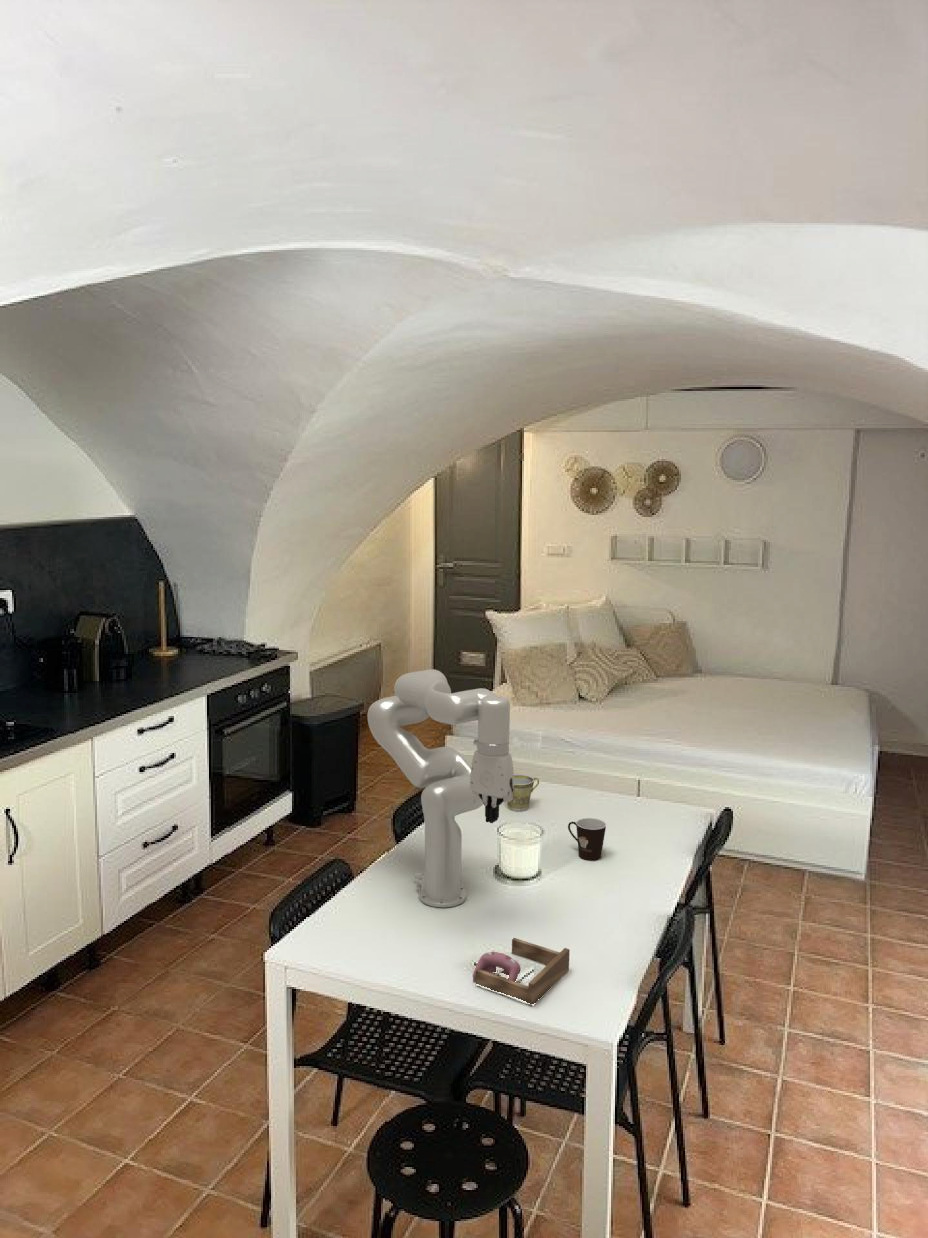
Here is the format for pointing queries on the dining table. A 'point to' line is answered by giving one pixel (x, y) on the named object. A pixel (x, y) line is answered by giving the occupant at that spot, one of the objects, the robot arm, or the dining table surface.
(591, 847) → the coffee mug
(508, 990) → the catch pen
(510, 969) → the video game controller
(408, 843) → the dining table surface
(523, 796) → the ceramic cup
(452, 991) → the dining table surface
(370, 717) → the robot arm
